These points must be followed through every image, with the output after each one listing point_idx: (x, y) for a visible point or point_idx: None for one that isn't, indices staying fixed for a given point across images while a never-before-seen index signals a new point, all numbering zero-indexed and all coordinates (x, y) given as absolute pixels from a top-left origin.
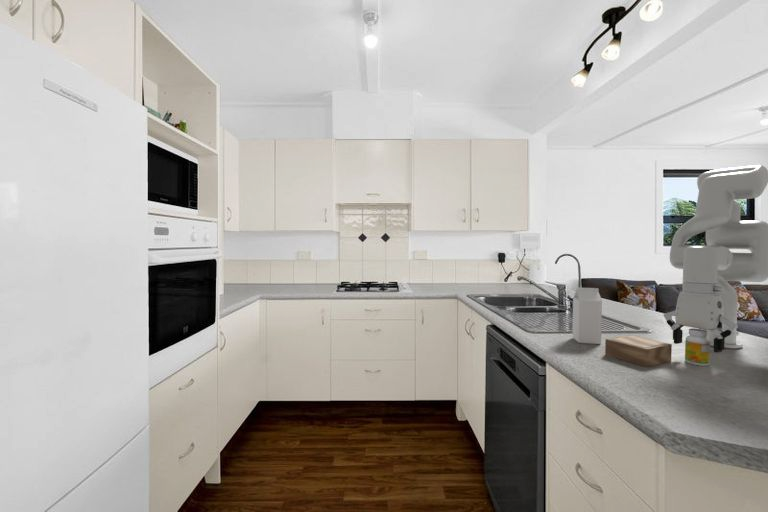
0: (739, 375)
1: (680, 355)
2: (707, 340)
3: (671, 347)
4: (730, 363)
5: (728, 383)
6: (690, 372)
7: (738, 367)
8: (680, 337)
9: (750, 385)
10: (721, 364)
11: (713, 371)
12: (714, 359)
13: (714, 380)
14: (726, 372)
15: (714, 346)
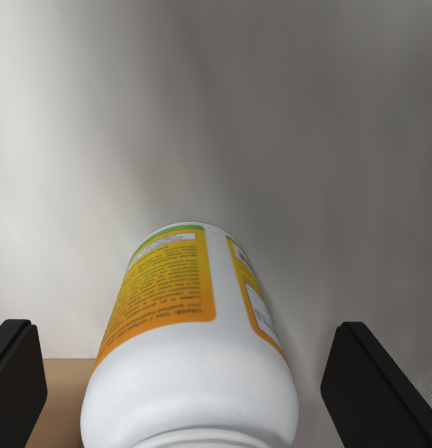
0: (387, 304)
1: (39, 184)
2: (292, 441)
3: (77, 445)
4: (319, 76)
5: None
6: None
7: (370, 144)
8: (9, 400)
9: (426, 390)
10: (286, 169)
11: (294, 343)
12: (215, 58)
13: (326, 438)
14: (338, 308)
15: (346, 440)
